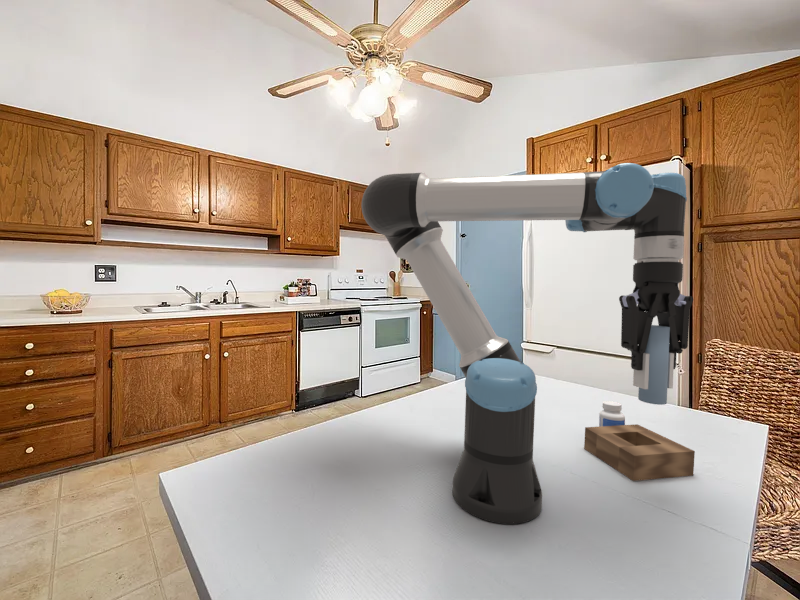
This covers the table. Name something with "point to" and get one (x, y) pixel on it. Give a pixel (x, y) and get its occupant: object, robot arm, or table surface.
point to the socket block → (639, 452)
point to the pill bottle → (611, 414)
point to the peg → (657, 366)
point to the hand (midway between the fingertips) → (652, 386)
